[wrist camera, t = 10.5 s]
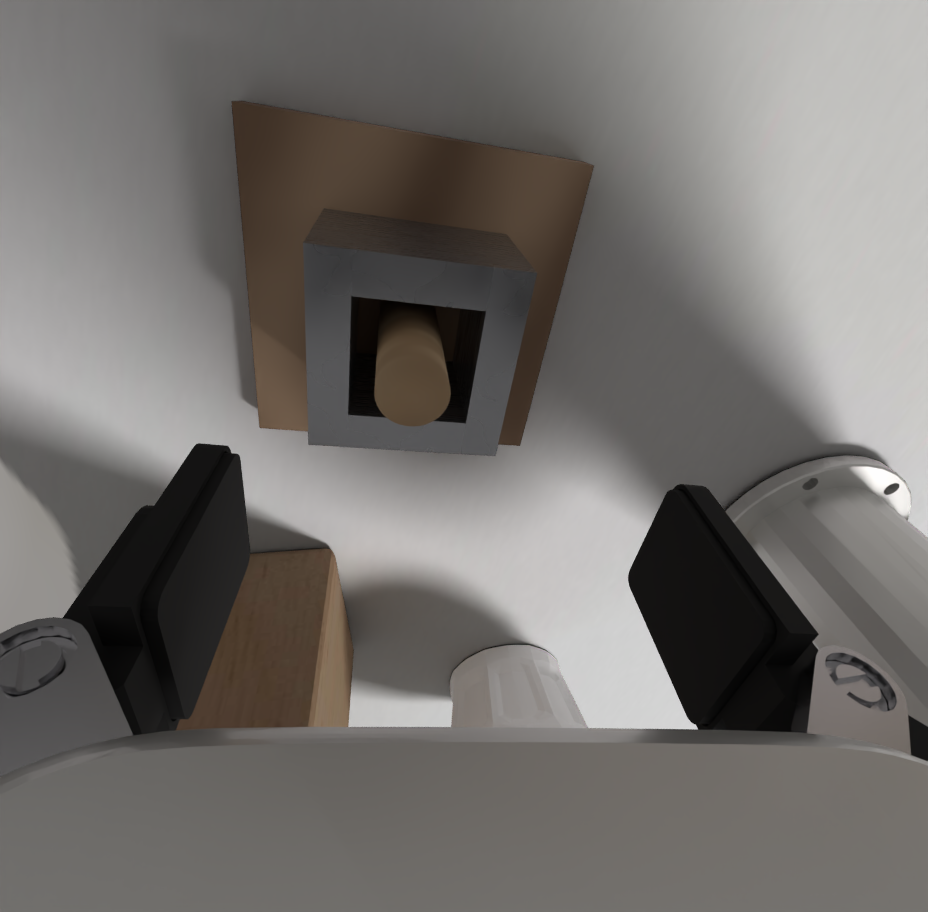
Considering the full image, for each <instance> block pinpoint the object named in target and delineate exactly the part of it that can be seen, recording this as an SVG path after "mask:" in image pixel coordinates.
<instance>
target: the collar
mask: <svg viewBox="0 0 928 912" xmlns="http://www.w3.org/2000/svg"><path fill="white" fill-rule="evenodd" d="M303 258H304V295H305V333H306V370H307V408H308V445H323V446H339V447H356V448H372V449H388V450H405V451H421V452H438V453H454V454H471V455H487V456H495V455H496V451H497V446H498V442H499V438H500V433H501V429H502V425H503V420H504V416H505V412H506V407H507V403H508V398H509V394H510V390H511V385H512V381H513V377H514V372H515V368H516V364H517V359H518V355H519V351H520V346H521V342H522V337H523V333H524V329H525V324H526V320H527V316H528V311H529V307H530V303H531V298H532V294H533V290H534V285H535V281H536V277H537V272H536V271H535V270H534V268H533V267H532V266H531V264H530V263H529V262H528V261H527V259H526V258H525V257H524V256H523V254H522V253H521V252H520V250H519V249H518V248H517V247H516V245H515V244H514V243H513V242H512V240H511V239H510V238H509V237H508V235H507V234H502V233H495V232H488V231H481V230H474V229H467V228H460V227H453V226H446V225H439V224H432V223H425V222H418V221H411V220H404V219H396V218H389V217H382V216H375V215H368V214H361V213H354V212H347V211H340V210H333V209H326V208H324V209H323V210H322V212H321V214H320V215H319V217H318V219H317V220H316V222H315V224H314V225H313V227H312V229H311V230H310V232H309V234H308V235H307V237H306V239H305V240H304V242H303ZM359 297H363V298H372V299H381V300H390V301H399V302H408V303H416V304H425V305H434V306H443V307H452V308H460V315H459V322H458V328H457V335H456V341H455V348H454V355H453V361H445V363H446V368H447V373H448V379H449V384H450V390H451V395H450V401H449V404H448V406H447V408H446V410H445V411H444V412H443V414H442V415H441V416H440V417H438V418H437V419H436V420H434V421H432V422H430V423H428V424H425V425H422V426H403V425H399V424H397V423H394V422H392V421H391V420H389V419H388V418H386V417H385V416H384V415H383V414H382V413H381V411H380V410H379V408H378V406H377V404H376V401H375V396H374V389H375V374H376V358H377V354H368V353H357V336H358V307H359Z"/></svg>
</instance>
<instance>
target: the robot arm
mask: <svg viewBox="0 0 928 912" xmlns="http://www.w3.org/2000/svg"><path fill="white" fill-rule="evenodd" d="M910 508H911V493H910V490H909V488H908V486H907V484H906V481H905V480H903V479H902V478H901V477H900V476H899V475H898V474H897V473H896V472H894V471H893V470H892V469H890V468H889V467H887V466H886V465H884V464H883V463H881V462H880V461H877V460H874V459H870V458H867V457H862V456H848V455H846V456H836V457H826V458H822V459H818V460H814V461H810V462H806V463H803V464H800V465H797V466H795V467H792V468H789V469H787V470H784V471H782V472H780V473H778V474H776V475H774V476H772V477H770V478H769V479H767V480H765V481H763V482H761V483H760V484H758V485H757V486H755V487H754V488H753V489H751V490H750V491H748V492H747V493H745V494H744V495H743V496H742V497H740V498H739V499H738V500H737V501H736V502H735V503H733V504H732V505H731V506H730V507H729V508H728V509H727V510H726V511H724V509H723V508H722V507H721V505H720V504H719V503H718V502H717V500H716V499H715V498H714V496H713V495H712V494H711V492H710V491H709V490H708V489H707V488H706V487H704V486H695V485H684V484H680V485H677V486H676V487H675V488H674V489H673V490H669V491H668V492H667V494H666V495H665V497H664V499H663V501H662V504H661V506H660V508H659V510H658V512H657V514H656V516H655V518H654V520H653V522H652V525H651V527H650V529H649V531H648V533H647V535H646V537H645V539H644V541H643V543H642V546H641V548H640V550H639V552H638V554H637V556H636V558H635V560H634V562H633V564H632V567H631V569H630V571H629V575H628V581H629V586H630V589H631V591H632V593H633V595H634V598H635V600H636V602H637V604H638V607H639V609H640V611H641V614H642V616H643V618H644V620H645V623H646V625H647V627H648V629H649V632H650V634H651V636H652V638H653V641H654V643H655V645H656V647H657V650H658V652H659V654H660V656H661V659H662V661H663V663H664V665H665V668H666V670H667V672H668V675H669V677H670V679H671V681H672V684H673V686H674V688H675V690H676V693H677V695H678V697H679V699H680V702H681V704H682V706H683V708H684V711H685V713H686V715H687V717H688V719H689V720H690V721H691V722H692V723H694V724H696V726H697V728H698V730H689V729H614V728H497V727H265V728H211V729H194V730H177V731H176V728H177V726H178V723H179V721H180V719H189V718H190V716H191V715H192V713H193V711H194V708H195V706H196V703H197V700H198V698H199V695H200V692H201V690H202V687H203V684H204V682H205V679H206V676H207V674H208V671H209V668H210V666H211V663H212V660H213V658H214V655H215V652H216V650H217V647H218V644H219V642H220V639H221V636H222V634H223V631H224V629H225V626H226V623H227V621H228V618H229V615H230V613H231V610H232V607H233V605H234V602H235V599H236V597H237V594H238V591H239V589H240V586H241V583H242V581H243V578H244V575H245V573H246V570H247V567H248V564H249V558H250V544H249V535H248V526H247V516H246V507H245V498H244V489H243V480H242V470H241V461H240V456H239V455H238V454H233V453H231V450H230V448H229V447H228V446H223V445H211V444H196V445H195V446H194V447H193V449H192V450H191V452H190V453H189V455H188V456H187V458H186V459H185V461H184V462H183V464H182V465H181V467H180V468H179V470H178V471H177V473H176V474H175V476H174V477H173V479H172V480H171V482H170V483H169V485H168V486H167V488H166V489H165V491H164V492H163V494H162V495H161V497H160V498H159V500H158V501H157V503H156V504H155V506H147V505H146V506H144V507H142V508H141V509H140V510H139V511H138V512H137V513H136V514H135V516H134V517H133V519H132V520H131V521H130V523H129V524H128V526H127V527H126V528H125V530H124V531H123V533H122V534H121V536H120V537H119V538H118V540H117V541H116V543H115V544H114V546H113V547H112V548H111V550H110V551H109V553H108V554H107V556H106V557H105V558H104V560H103V561H102V563H101V564H100V566H99V567H98V568H97V570H96V571H95V573H94V574H93V575H92V577H91V578H90V580H89V581H88V583H87V584H86V585H85V587H84V588H83V590H82V591H81V593H80V594H79V595H78V597H77V598H76V600H75V601H74V603H73V604H72V605H71V607H70V608H69V610H68V611H67V613H66V614H65V615H64V617H63V618H54V617H53V618H45V619H37V620H33V621H30V622H27V623H24V624H20V625H17V626H15V627H13V628H11V629H9V630H7V631H5V632H3V633H1V634H0V912H928V537H926V536H925V535H924V534H923V533H922V532H920V531H919V530H918V529H917V528H916V527H914V526H913V525H912V524H911V523H910V522H908V521H907V520H908V517H909V512H910Z"/></svg>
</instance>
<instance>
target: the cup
mask: <svg viewBox="0 0 928 912" xmlns="http://www.w3.org/2000/svg"><path fill="white" fill-rule="evenodd" d="M450 693H451V698H452V702H453V710H452V724H451V727H497V728H588V727H587V725H586V723H585V721H584V718H583V716H582V714H581V712H580V710H579V708H578V706H577V704H576V702H575V700H574V698H573V696H572V694H571V692H570V690H569V688H568V686H567V684H566V682H565V680H564V678H563V676H562V673H561V670H560V667H559V664H558V661H557V660H556V659H555V658H554V657H553V656H552V655H551V654H550V653H548V652H547V651H545V650H542V649H540V648H537V647H533V646H530V645H504V646H498V647H494V648H489V649H485V650H483V651H481V652H479V653H477V654H475V655H473V656H471V657H469V658H467V659H466V660H465V661H463V662H462V663H461V664H460V665H459V666H458V667H457V668H456V669H455V670H454V671H453V673H452V676H451V679H450Z"/></svg>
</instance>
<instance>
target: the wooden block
mask: <svg viewBox="0 0 928 912" xmlns="http://www.w3.org/2000/svg"><path fill="white" fill-rule="evenodd" d="M353 653H354V649H353V644H352V639H351V634H350V629H349V624H348V619H347V614H346V609H345V604H344V599H343V594H342V589H341V584H340V579H339V574H338V569H337V564H336V559H335V555H334V553H333V551H332V550H331V549H326V548H324V549H310V550H296V551H283V552H269V553H255V554H250V558H249V564H248V567H247V570H246V573H245V575H244V578H243V581H242V583H241V586H240V589H239V591H238V594H237V597H236V599H235V602H234V605H233V607H232V610H231V613H230V615H229V618H228V621H227V623H226V626H225V629H224V631H223V634H222V636H221V639H220V642H219V644H218V647H217V650H216V652H215V655H214V658H213V660H212V663H211V666H210V668H209V671H208V674H207V676H206V679H205V682H204V684H203V687H202V690H201V692H200V695H199V698H198V700H197V703H196V706H195V708H194V711H193V713H192V715H191V716H190V718H189V719H180V721H179V723H178V726H177V728H176V731H177V730H194V729H211V728H265V727H348V722H349V708H350V694H351V681H352V667H353Z"/></svg>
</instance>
